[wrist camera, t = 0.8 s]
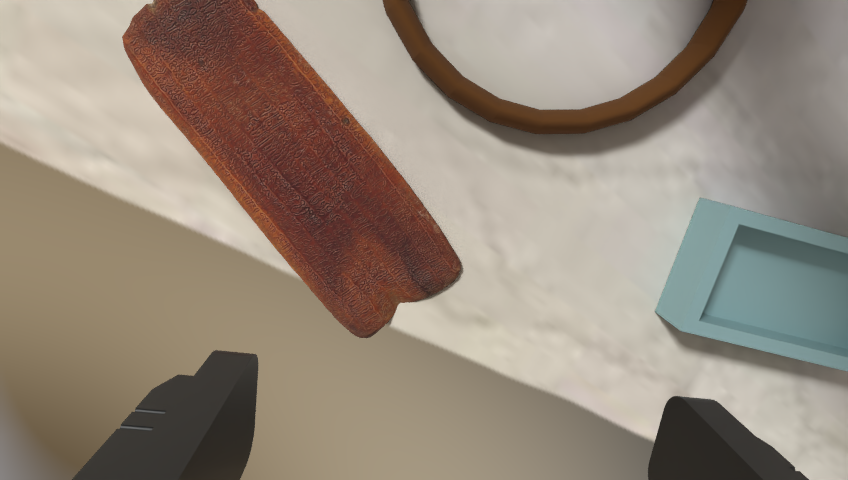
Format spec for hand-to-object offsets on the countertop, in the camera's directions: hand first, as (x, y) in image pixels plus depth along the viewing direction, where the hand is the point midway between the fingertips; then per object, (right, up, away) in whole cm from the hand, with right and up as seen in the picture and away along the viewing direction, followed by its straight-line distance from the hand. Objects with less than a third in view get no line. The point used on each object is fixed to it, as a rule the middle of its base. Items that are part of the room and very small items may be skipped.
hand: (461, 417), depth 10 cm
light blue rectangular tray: (+26, 0, +28) cm, 38 cm away
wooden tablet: (-9, +9, +25) cm, 28 cm away
